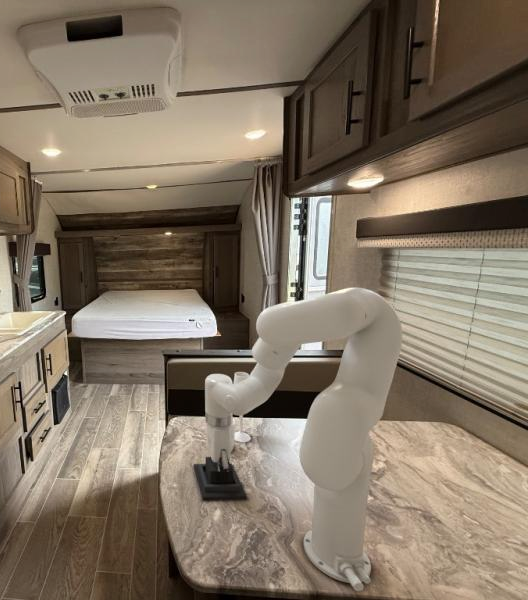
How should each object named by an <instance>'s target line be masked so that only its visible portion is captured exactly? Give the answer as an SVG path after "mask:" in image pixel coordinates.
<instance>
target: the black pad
mask: <svg viewBox="0 0 528 600" xmlns="http://www.w3.org/2000/svg"><path fill="white" fill-rule="evenodd" d="M220 459H222V458H221V457H220ZM227 462H228V461H227ZM219 463H220V466H222V462H219ZM205 464H206V472H207V475H208V478H209V481H210V484H218V483H217V482H216V470H218V469H217V462H213V460H212V459H211V457H210V456H205ZM228 467H229V469H228V483H233V469H232V467H231V464H230V461H229V462H228Z"/></svg>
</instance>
